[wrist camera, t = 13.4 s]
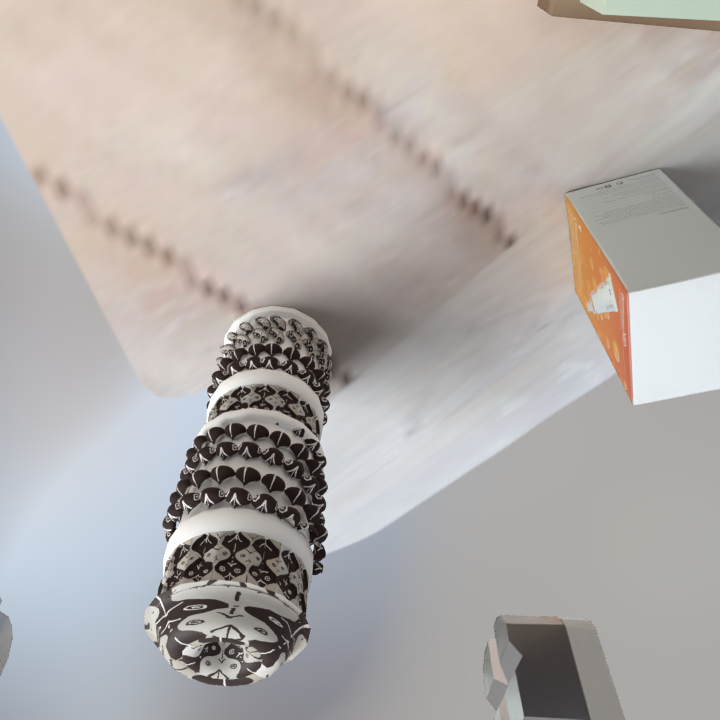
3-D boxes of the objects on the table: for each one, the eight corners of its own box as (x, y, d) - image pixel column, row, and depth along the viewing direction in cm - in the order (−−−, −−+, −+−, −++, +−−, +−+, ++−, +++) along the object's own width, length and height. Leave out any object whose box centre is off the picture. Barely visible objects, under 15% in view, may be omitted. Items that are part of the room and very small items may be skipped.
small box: (561, 191, 43) (626, 291, 32) (661, 165, 42) (761, 260, 31) (572, 293, 48) (632, 409, 37) (662, 272, 46) (750, 385, 36)
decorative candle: (361, 349, 51) (361, 657, 30) (285, 414, 55) (241, 724, 34) (270, 278, 47) (201, 575, 27) (196, 353, 51) (87, 661, 31)
